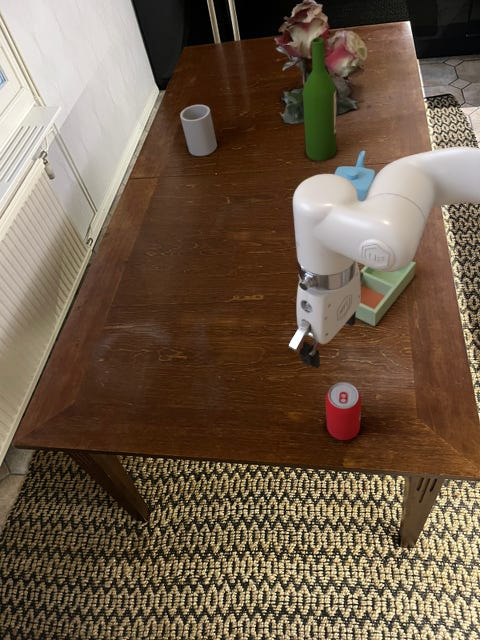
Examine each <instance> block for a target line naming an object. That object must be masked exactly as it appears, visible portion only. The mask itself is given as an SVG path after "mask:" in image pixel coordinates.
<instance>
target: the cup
mask: <svg viewBox="0 0 480 640" xmlns="http://www.w3.org/2000/svg"><path fill="white" fill-rule="evenodd" d="M179 115H180V117H179V118H180V120H181V125H182V128H183V132H184V136H185V141H186V145H187V148H188V152H189V153H190V155H192V156H196V157H204V156H207V155H210V154H212V153H213V152H215V150H217V147H218V144H217V143H218V142H217V138H216V133H215V128H214V123H213V118H212V114H211V109H210V107H209V106H207V105H204V104H194V105H190V106H187V107H185V108H184V109H183V110H182V111H181V112H180V114H179Z"/></svg>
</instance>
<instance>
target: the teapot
mask: <svg viewBox="0 0 480 640" xmlns="http://www.w3.org/2000/svg"><path fill="white" fill-rule="evenodd" d="M365 156H366V151H365V150H361V151H360V153H359V154H358V158H357V161H356V165H355V166H351V165H349V166H346V165H342V166H338V167H337V168H336V170H335V172H334V174H335V175H339V176H342V177H344V178H346V179H348V180H349V181H350V182H351V183H352V184H353V185H354V187H355V189H356V191H357V194H358V200H359V201H364V199H365V197H366V194H367V192H368V190H369V188H370V186H371V184H372V182H373V180H374V178H375V177H376V175H377V173H376V171H375V170H374V169H371V168H366V167H365Z"/></svg>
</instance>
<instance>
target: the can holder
mask: <svg viewBox="0 0 480 640" xmlns="http://www.w3.org/2000/svg"><path fill="white" fill-rule="evenodd" d="M416 264H417V262H415V261H413V260H412V261H411V262H410V263H409V264H408V265H407V266H406V267H405V268H403V269H401V270H399V271H395V272H384V271H379V270H375V269H372V268H370V267H367V266H365V265H363V266H364V267H363V268H362V269H360V271H361V272H363V277H362V280H361V300H360V305H359V307H358V308H357V310H356V319H358V320H361V321H363V322H364V323H366V324H369V325H371V326H373V327H376V325H377V324H378V323H379V322H380V321H381V319H382V318H383V317H384V315H385V314H386V313H387V312H388V310H389V309H390V308H391V306H392V305H393V304H394V303H395V302H396V300H397V299H398V297H400V295H401V293H402V292H403V291H404V290H405V289H406V287H407V286H408V285H409V284H410V282H411V281H412V280H413V279H414V276H415V271H416V266H417V265H416Z"/></svg>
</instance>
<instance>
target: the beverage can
mask: <svg viewBox="0 0 480 640" xmlns="http://www.w3.org/2000/svg"><path fill="white" fill-rule="evenodd" d="M325 414H326V415H325V416H326V417H325V418H326V429H327V431H328V433H329V435H331V436H332V437H333V438H335V439H336V440H340V441H348V440H351V439H353V438H354V437H356V436H358V434H359V432H360V429H361V415H362V396H361V394H360V392H359V390H358V389H357V387H355V386H354V385H353V384H351V383H350V382H337V383H335V384H333V385H331V387H330V389H329V390H328V391H327V393H326V395H325Z"/></svg>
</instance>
